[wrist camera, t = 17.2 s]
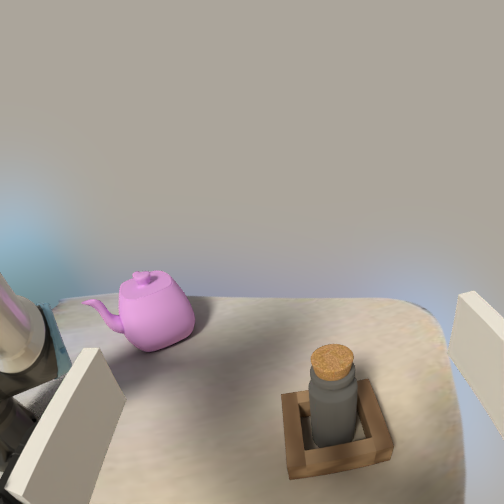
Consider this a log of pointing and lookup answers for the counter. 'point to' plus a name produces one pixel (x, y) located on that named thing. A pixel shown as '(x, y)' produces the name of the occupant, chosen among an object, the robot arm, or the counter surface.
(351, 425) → the bottle
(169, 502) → the counter surface
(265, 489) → the counter surface
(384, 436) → the block
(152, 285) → the teapot
